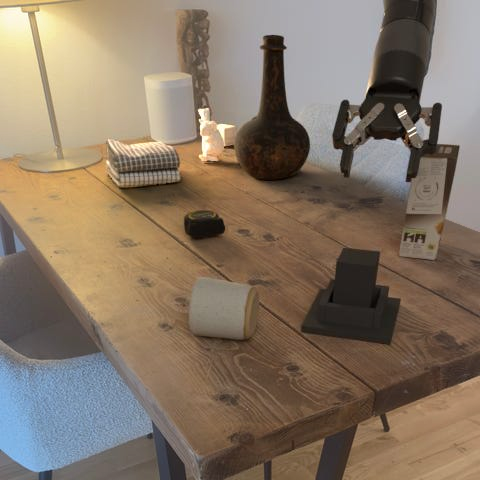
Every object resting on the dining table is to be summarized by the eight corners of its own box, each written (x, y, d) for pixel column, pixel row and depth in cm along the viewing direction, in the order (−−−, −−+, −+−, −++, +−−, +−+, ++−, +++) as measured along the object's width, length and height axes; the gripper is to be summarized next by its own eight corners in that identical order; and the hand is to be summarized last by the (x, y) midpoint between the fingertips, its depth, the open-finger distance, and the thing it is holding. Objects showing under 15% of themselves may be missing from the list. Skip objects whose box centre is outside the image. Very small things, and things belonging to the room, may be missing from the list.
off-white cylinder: (249, 351, 73) (249, 296, 68) (189, 345, 75) (185, 290, 70) (265, 314, 81) (266, 263, 77) (210, 309, 83) (208, 259, 78)
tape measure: (190, 244, 103) (188, 223, 100) (180, 231, 108) (179, 211, 105) (225, 238, 104) (225, 218, 102) (215, 226, 110) (214, 206, 107)
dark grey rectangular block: (372, 305, 80) (380, 251, 75) (367, 322, 77) (375, 265, 72) (337, 301, 82) (343, 247, 77) (331, 317, 78) (336, 261, 73)
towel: (119, 192, 128) (114, 155, 123) (105, 172, 141) (100, 137, 136) (184, 184, 132) (181, 147, 127) (164, 165, 145) (160, 131, 140)
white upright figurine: (192, 158, 150) (189, 107, 142) (216, 155, 152) (214, 105, 144) (203, 166, 144) (201, 113, 136) (228, 163, 146) (226, 110, 138)
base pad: (399, 304, 83) (403, 282, 80) (390, 345, 74) (394, 321, 72) (319, 294, 86) (321, 272, 84) (301, 332, 77) (302, 308, 75)
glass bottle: (286, 162, 146) (290, 29, 128) (322, 179, 133) (332, 35, 115) (223, 171, 140) (218, 34, 122) (254, 190, 127) (254, 40, 110)
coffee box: (436, 261, 95) (457, 158, 85) (397, 257, 96) (414, 155, 86) (440, 241, 101) (460, 144, 91) (404, 238, 103) (420, 142, 93)
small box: (238, 144, 161) (237, 125, 158) (224, 148, 158) (223, 128, 155) (223, 141, 164) (223, 122, 161) (210, 145, 161) (209, 126, 158)
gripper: (346, 47, 77) (323, 158, 76) (455, 48, 74) (433, 164, 72) (348, 86, 84) (328, 188, 83) (448, 88, 81) (427, 195, 80)
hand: (377, 177), depth 78 cm, fingers open, 8 cm apart
